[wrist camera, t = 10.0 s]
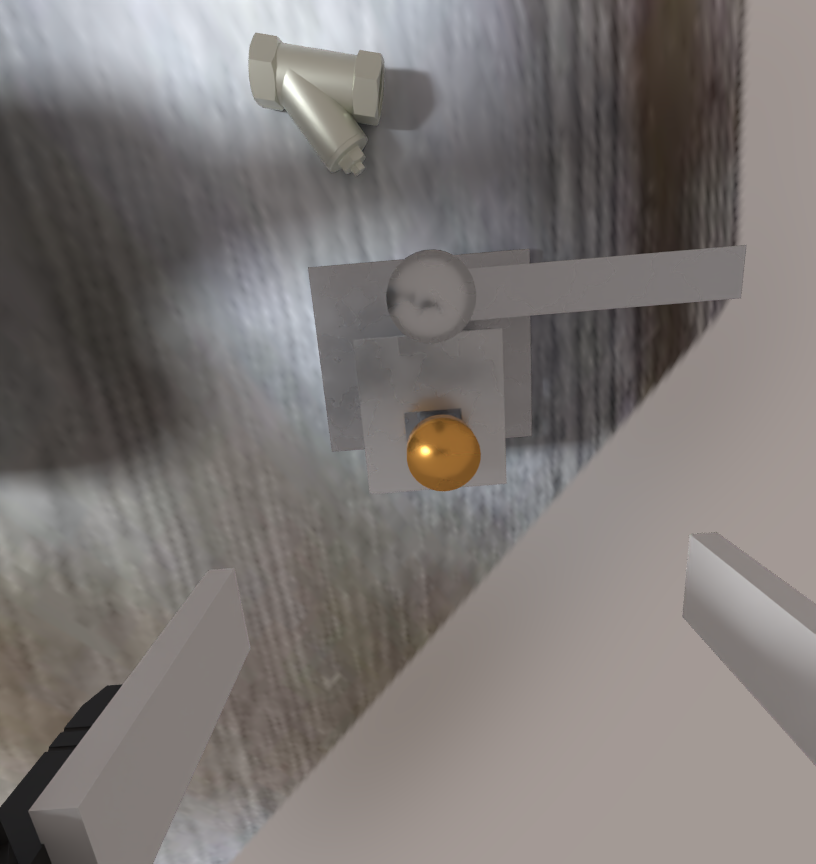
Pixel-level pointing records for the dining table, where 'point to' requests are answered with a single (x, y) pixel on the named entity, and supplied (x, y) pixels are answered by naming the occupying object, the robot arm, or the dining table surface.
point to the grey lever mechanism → (470, 339)
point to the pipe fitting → (320, 95)
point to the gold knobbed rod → (442, 451)
